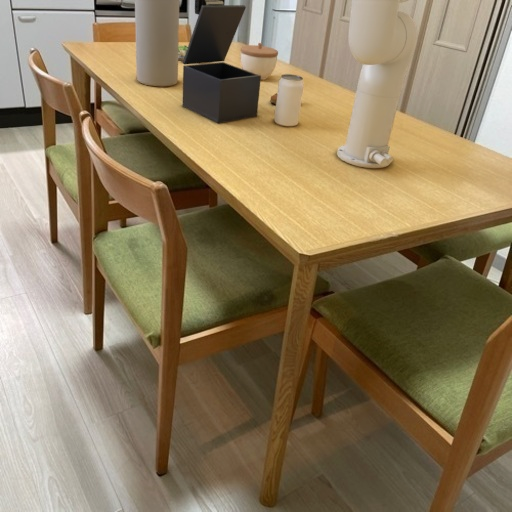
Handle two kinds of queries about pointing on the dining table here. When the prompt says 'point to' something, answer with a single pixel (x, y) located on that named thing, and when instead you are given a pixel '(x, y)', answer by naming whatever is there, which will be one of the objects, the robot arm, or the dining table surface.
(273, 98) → the pastry
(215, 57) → the bin lid
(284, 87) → the can
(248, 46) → the lidded bowl
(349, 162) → the robot arm
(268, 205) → the dining table surface
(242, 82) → the bin
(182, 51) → the salad plate
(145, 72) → the cylinder vase
